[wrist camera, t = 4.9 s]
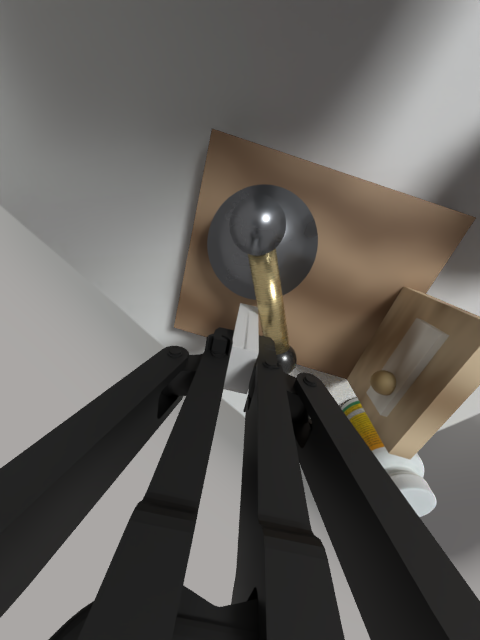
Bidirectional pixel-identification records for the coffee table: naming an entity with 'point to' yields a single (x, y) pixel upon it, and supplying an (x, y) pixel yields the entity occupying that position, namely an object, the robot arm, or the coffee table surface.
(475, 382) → the stand
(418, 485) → the supplement bottle
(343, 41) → the coffee table surface
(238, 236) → the ball knob lever
